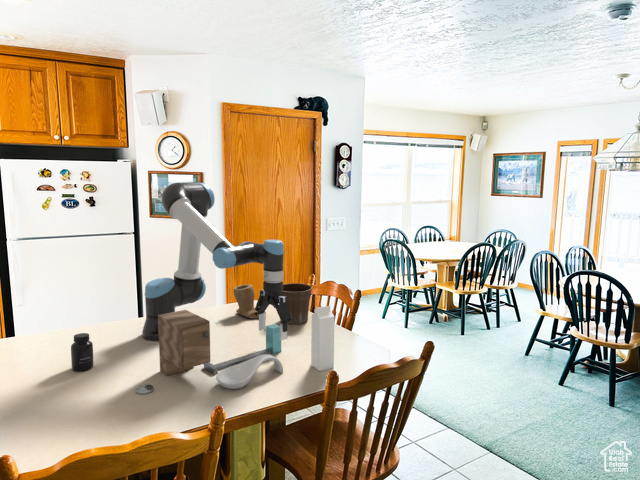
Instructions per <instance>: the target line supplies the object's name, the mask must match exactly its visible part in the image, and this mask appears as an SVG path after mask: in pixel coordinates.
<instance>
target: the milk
mask: <svg viewBox="0 0 640 480" xmlns="http://www.w3.org/2000/svg"><path fill="white" fill-rule="evenodd" d="M310 342H311V345H310V346H311V353H310V354H311V357H310V358H311V360H310V361H311V362H310V364H311V366H312V367H313V368H314V369H316V370H317V371H319V372H321V371H324V370H325V371H326V370H330V369H334V365H335V362H334V361H335V360H334V359H335V315H334V313H333V312H332V310H331V305H325V306H320V307H315V312H313V313H312V314H311V341H310Z"/></svg>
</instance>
